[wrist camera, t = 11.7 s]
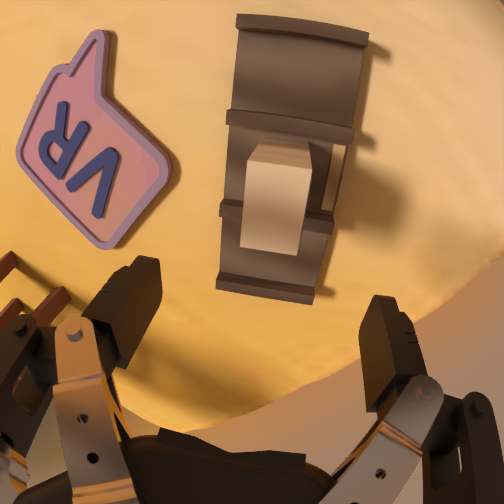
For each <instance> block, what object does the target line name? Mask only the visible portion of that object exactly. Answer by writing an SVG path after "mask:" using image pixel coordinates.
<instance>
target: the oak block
mask: <svg viewBox="0 0 504 504" xmlns="http://www.w3.org/2000/svg"><path fill="white" fill-rule="evenodd" d="M311 174H312V165H311V158H310V151H309V144H308V141H305V140H298V139H292V138H285V137H277V136H270V135H264V137H263V138H262V140H261V141H260V143H259V144H258V145H257V147H256V148H255V150H254V151H253V153H252V154H251V156H250V157H249V159H248V160H247V170H246V181H245V193H244V204H243V216H242V227H241V239H240V247H244V248H250V249H257V250H263V251H270V252H276V253H283V254H289V255H295V256H297V251H298V246H299V240H301V238H302V233H303V228H304V222H305V217H306V212H307V206H308V201H309V195H310V189H311V184H312V175H311Z"/></svg>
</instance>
